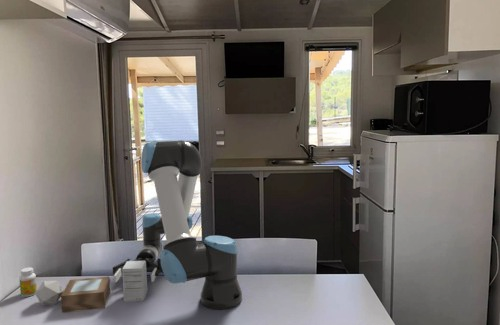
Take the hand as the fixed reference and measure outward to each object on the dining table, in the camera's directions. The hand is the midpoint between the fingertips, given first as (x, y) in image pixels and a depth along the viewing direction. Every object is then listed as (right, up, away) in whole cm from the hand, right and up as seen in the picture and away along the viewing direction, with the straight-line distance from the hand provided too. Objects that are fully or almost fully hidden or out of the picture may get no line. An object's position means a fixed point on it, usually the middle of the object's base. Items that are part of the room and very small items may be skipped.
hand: (133, 278), depth 143 cm
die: (-29, -8, -2) cm, 31 cm away
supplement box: (0, -7, +2) cm, 8 cm away
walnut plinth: (-16, -8, -1) cm, 18 cm away
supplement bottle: (-41, -7, +5) cm, 42 cm away
